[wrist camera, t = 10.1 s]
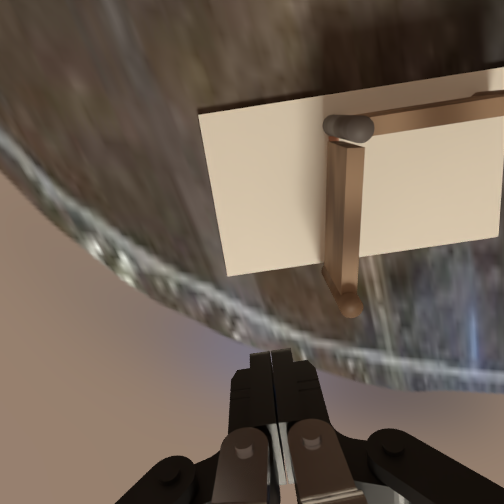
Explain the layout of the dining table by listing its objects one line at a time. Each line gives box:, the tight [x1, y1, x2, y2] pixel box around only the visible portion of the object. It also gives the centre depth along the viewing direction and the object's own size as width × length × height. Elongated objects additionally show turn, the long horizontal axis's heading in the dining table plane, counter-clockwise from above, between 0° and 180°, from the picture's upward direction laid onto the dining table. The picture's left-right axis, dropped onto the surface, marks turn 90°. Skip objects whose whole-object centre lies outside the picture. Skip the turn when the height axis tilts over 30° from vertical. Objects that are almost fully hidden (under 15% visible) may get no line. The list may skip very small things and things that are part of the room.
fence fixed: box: [323, 90, 504, 143], centre depth 24 cm, size 11×1×7 cm, turn 98°
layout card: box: [198, 67, 504, 276], centre depth 29 cm, size 21×12×1 cm, turn 98°
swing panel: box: [322, 141, 365, 318], centre depth 26 cm, size 10×1×6 cm, turn 2°
